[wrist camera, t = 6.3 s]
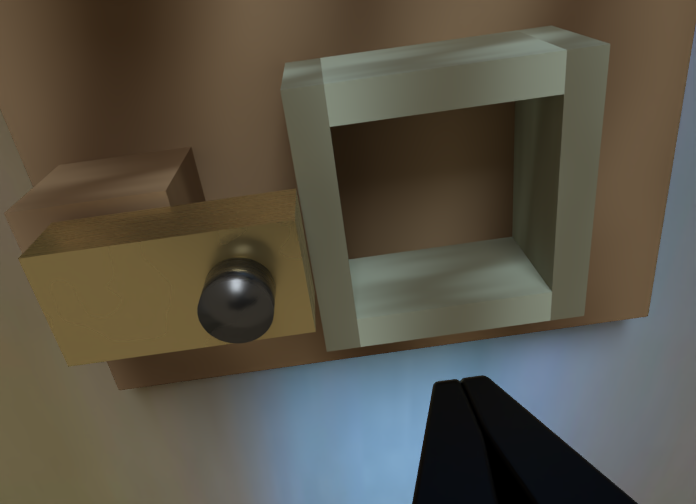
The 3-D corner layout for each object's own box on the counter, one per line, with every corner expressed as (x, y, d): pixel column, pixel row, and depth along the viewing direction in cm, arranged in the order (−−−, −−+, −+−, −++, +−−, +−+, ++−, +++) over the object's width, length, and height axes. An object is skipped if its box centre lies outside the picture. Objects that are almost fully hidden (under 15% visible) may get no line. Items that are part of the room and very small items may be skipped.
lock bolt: (296, 188, 14) (293, 241, 11) (314, 291, 15) (316, 358, 13) (51, 222, 14) (-5, 282, 11) (93, 322, 15) (51, 395, 13)
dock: (685, -125, 16) (833, -153, 11) (627, 294, 22) (706, 379, 18) (-25, -24, 16) (-153, -14, 11) (129, 364, 22) (87, 465, 18)
